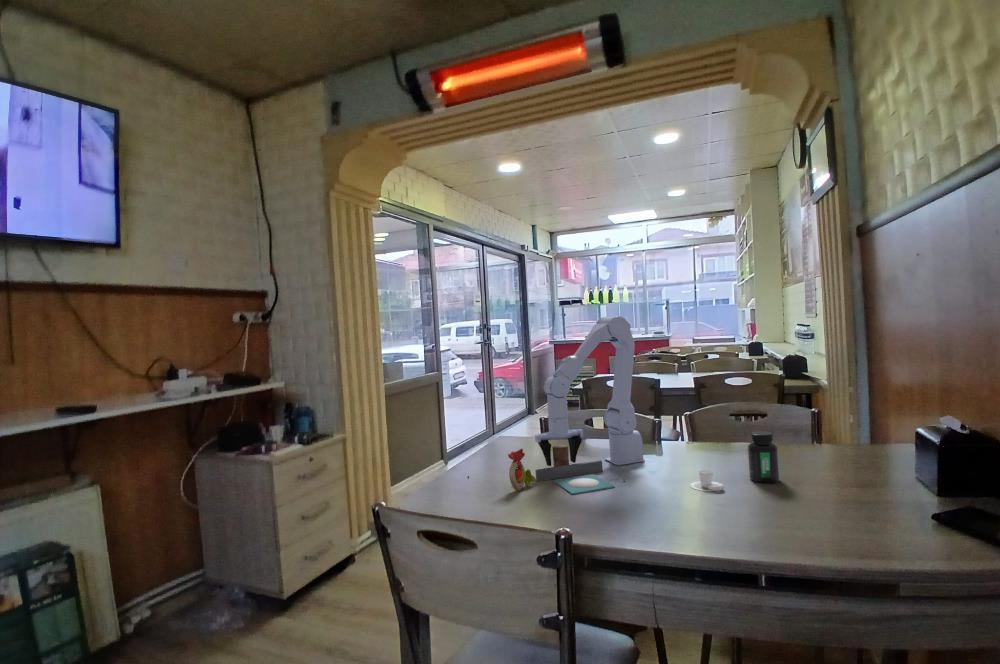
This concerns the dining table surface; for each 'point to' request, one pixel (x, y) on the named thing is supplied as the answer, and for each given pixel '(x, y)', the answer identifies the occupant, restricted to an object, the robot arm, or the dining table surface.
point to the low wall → (568, 470)
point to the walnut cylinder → (560, 455)
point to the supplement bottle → (763, 458)
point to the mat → (583, 484)
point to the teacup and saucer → (707, 482)
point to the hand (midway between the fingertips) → (561, 463)
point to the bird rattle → (519, 471)
